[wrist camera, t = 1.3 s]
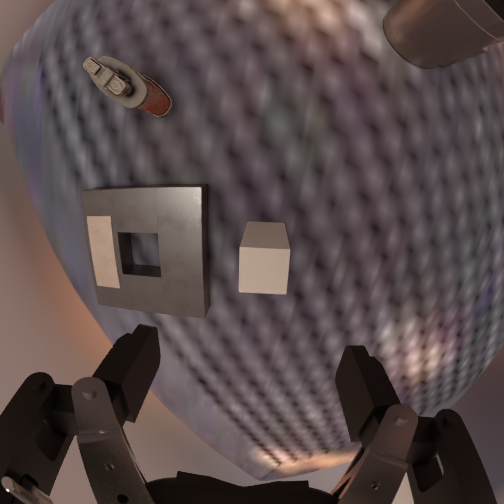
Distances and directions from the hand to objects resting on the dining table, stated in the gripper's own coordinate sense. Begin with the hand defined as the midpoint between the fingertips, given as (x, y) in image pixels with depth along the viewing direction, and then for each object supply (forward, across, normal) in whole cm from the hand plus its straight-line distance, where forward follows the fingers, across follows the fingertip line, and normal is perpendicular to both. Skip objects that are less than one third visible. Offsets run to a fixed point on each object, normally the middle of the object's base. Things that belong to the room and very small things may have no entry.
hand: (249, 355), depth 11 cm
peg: (+21, -1, +1) cm, 21 cm away
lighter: (+21, +14, -15) cm, 29 cm away
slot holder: (+21, +13, +3) cm, 25 cm away
